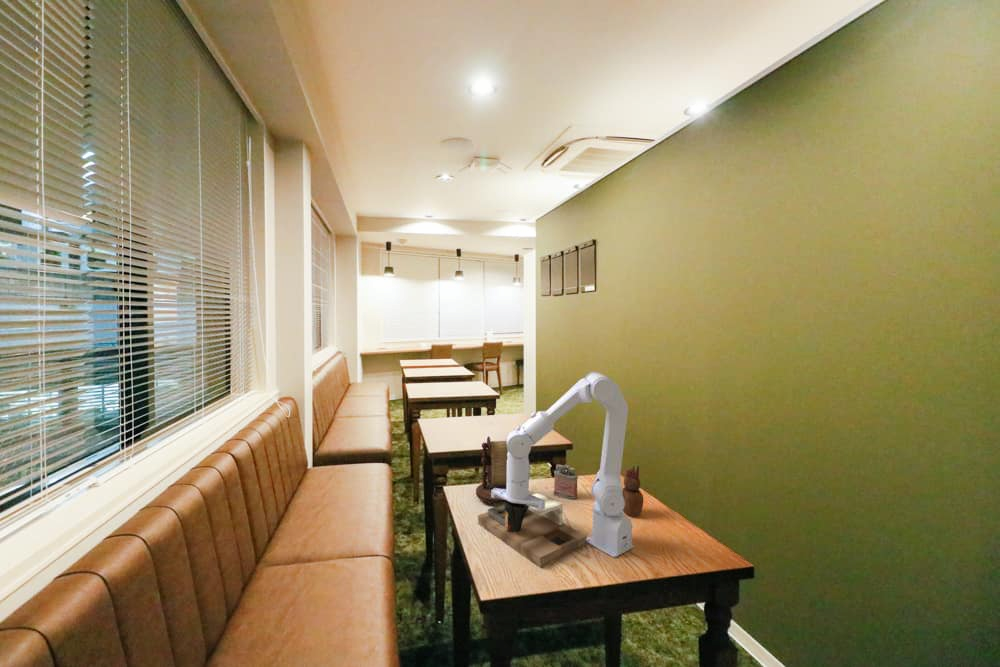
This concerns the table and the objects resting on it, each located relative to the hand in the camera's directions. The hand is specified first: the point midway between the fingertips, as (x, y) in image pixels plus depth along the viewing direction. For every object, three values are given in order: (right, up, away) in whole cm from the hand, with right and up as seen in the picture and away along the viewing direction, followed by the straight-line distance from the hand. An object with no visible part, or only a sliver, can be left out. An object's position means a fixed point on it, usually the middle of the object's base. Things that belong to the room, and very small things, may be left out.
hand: (517, 530), depth 109 cm
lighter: (+17, -2, +28) cm, 33 cm away
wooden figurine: (+35, -3, +17) cm, 39 cm away
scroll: (-5, -2, +27) cm, 27 cm away
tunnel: (+4, -3, +5) cm, 7 cm away
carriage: (-1, 0, +8) cm, 8 cm away
